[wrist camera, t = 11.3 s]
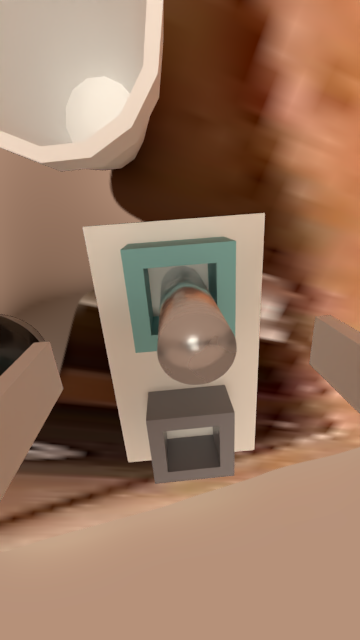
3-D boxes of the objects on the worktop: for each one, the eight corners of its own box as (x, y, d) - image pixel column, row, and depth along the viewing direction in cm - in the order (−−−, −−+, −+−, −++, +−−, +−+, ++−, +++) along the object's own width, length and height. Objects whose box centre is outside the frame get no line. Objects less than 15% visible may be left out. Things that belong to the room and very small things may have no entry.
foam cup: (157, 197, 24) (150, 178, 12) (49, 183, 23) (-78, 146, 11) (168, 62, 20) (174, -161, 8) (42, 39, 19) (-156, -250, 7)
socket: (140, 331, 27) (135, 352, 23) (128, 243, 24) (120, 250, 19) (224, 324, 27) (235, 344, 23) (223, 236, 24) (236, 240, 20)
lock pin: (163, 308, 26) (161, 388, 14) (159, 267, 25) (152, 317, 12) (203, 304, 26) (236, 381, 14) (201, 264, 25) (237, 310, 13)
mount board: (129, 452, 35) (123, 497, 29) (87, 226, 24) (64, 229, 19) (250, 440, 35) (267, 482, 30) (259, 213, 25) (287, 212, 19)
